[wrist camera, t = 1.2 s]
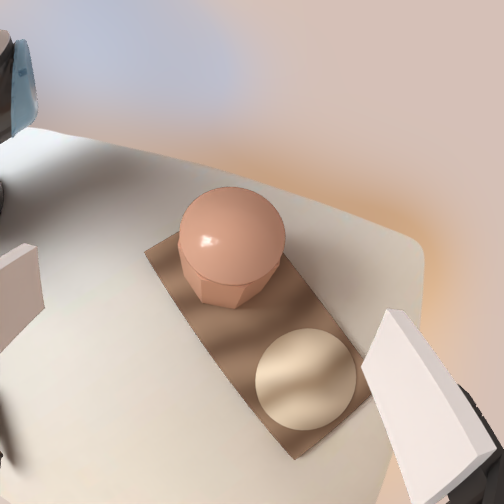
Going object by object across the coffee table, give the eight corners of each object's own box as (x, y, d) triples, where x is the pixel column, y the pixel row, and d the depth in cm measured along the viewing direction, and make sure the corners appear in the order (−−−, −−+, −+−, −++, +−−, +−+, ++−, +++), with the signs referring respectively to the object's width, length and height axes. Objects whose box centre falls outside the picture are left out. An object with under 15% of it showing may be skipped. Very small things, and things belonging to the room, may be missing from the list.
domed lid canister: (178, 298, 33) (167, 271, 24) (195, 226, 37) (193, 178, 28) (258, 314, 34) (278, 292, 25) (269, 240, 38) (290, 198, 28)
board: (145, 255, 36) (144, 252, 35) (238, 202, 40) (239, 197, 39) (291, 457, 29) (294, 460, 28) (376, 384, 34) (381, 384, 33)
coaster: (233, 370, 31) (233, 370, 31) (316, 308, 35) (317, 308, 35) (296, 449, 29) (297, 450, 28) (371, 383, 33) (373, 383, 32)
